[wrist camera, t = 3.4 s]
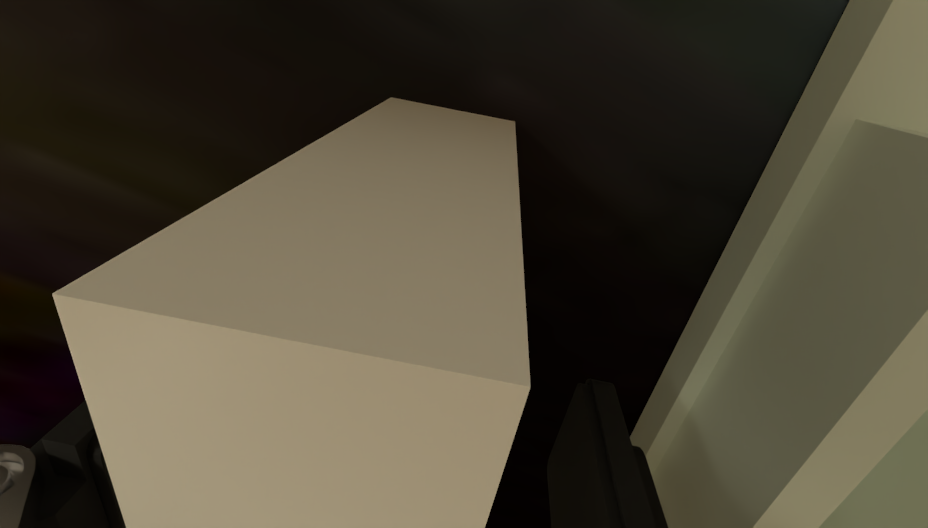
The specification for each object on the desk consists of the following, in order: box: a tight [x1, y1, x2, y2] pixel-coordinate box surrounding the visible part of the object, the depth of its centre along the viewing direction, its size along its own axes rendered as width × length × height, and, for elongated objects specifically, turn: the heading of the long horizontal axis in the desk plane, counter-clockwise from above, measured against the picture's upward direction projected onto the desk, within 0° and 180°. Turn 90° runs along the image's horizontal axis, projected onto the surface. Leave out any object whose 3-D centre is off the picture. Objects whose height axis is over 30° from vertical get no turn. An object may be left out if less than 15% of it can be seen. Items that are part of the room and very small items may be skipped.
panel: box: [52, 97, 531, 528], centre depth 10 cm, size 12×3×9 cm, turn 170°
